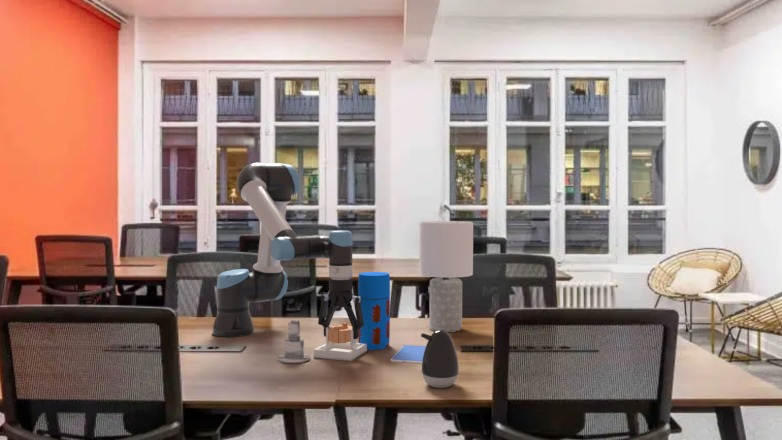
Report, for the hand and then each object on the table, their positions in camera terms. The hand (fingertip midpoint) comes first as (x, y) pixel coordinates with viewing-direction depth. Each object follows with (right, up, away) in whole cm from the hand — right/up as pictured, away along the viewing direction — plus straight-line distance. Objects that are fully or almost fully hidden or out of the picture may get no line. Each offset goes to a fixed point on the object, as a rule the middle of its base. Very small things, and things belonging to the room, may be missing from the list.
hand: (340, 347), depth 198 cm
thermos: (+10, -2, +11) cm, 15 cm away
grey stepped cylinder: (-14, -2, -6) cm, 16 cm away
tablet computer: (+24, -3, 0) cm, 24 cm away
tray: (0, -2, 0) cm, 2 cm away
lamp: (+38, -1, +38) cm, 54 cm away
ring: (0, +2, 0) cm, 2 cm away
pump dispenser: (+30, -4, -32) cm, 44 cm away
